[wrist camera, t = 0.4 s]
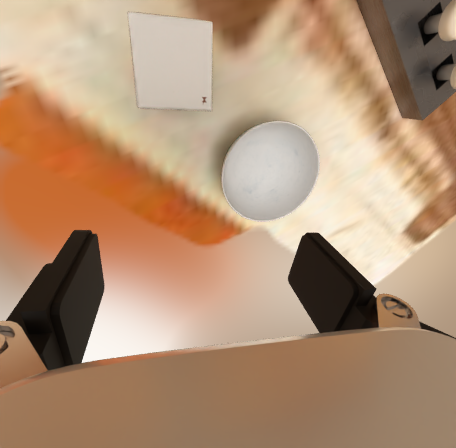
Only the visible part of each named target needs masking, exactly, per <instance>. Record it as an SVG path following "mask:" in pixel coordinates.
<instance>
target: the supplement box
mask: <svg viewBox="0 0 456 448" xmlns="http://www.w3.org/2000/svg"><path fill="white" fill-rule="evenodd" d="M127 14H128V21H129V31H130V41H131V50H132V61H133V71H134V81H135V91H136V101H137V107H138V108H141V109H167V110H193V111H212V31H213V23H212V22H211V21H205V20H198V19H191V18H183V17H174V16H166V15H157V14H148V13H139V12H128V13H127Z"/></svg>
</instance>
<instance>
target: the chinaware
mask: <svg viewBox="0 0 456 448" xmlns="http://www.w3.org/2000/svg"><path fill="white" fill-rule="evenodd" d="M319 166H320V160H319V153H318V149H317V146H316V144H315V142H314V140H313V138H312V137H311V136H310V134H309V133H308V132H307V131H305V130H304V129H303V128H301V127H300V126H298V125H296V124H294V123H291V122H286V121H270V122H265V123H261V124H258V125H256V126H254V127H252V128H250V129H248V130H247V131H245V132H244V133H242V134H241V135H240V136H239V137H238V138H237V139H236V140H235V141H234V143H233V144H232V145H231V147H230V148H229V150H228V152H227V154H226V156H225V159H224V162H223V166H222V174H221V182H222V189H223V193H224V196H225V198H226V200H227V202H228V204H229V205H230V206H231V208H232V209H233V210H234V211H235V212H236V213H238V214H239V215H241V216H242V217H244V218H246V219H249V220H253V221H259V222H266V221H273V220H277V219H280V218H282V217H285V216H287V215H288V214H290V213H292V212H293V211H295V210H296V209H297V208H298V207H300V206H301V205H302V204H303V203H304V201H305V200H306V199H307V198H308V196H309V195H310V193H311V192H312V190H313V188H314V186H315V184H316V181H317V178H318V174H319Z"/></svg>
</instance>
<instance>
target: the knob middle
mask: <svg viewBox="0 0 456 448" xmlns="http://www.w3.org/2000/svg"><path fill="white" fill-rule="evenodd" d="M424 32H425V34H432V33H437V32H438V33H439V36H440V38H441V39H442V40H443V41H452V40H456V0H452V1H451V2H450V3H449V4H448V5H447V7H446V8H445V10H444V11H443V13H441V14H437V15H433V16H431V17H429V18H428V19H427V21H426V22H425V25H424Z"/></svg>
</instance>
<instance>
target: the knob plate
mask: <svg viewBox="0 0 456 448" xmlns="http://www.w3.org/2000/svg"><path fill="white" fill-rule="evenodd" d="M451 1H452V0H357V2H358V5H359V7H360V10H361V13H362V15H363V18H364V20H365V23H366V25H367V28H368V31H369V33H370V36H371V38H372V41H373V43H374V46H375V49H376V51H377V54H378V56H379V59H380V61H381V64H382V67H383V69H384V72H385V74H386V77H387V79H388V82H389V85H390V87H391V90H392V92H393V95H394V97H395V100H396V103H397V105H398V108H399V110H400V113H401V115H402V118H409V119H416V120H423V119H425V118H426V117H427V116H428V115H429V114H430V113H432V112H433V111H434V110H435V109H436V108H437V107H439V106H440V105H441V104H442V103H443V102H444V101H446V100H447V99H448V98H449V97H450V96H451V95H452V94H454V93H455V92H456V89H454V88H453V87H452V86H451V83H450V80H438V79H437V77H436V75H437V72H438V70H439V68H440V67H441V66H443V65H449V64H456V40H452V41H443V40H442V39H441V38H440V36H439V33H438V32H437V33H432V34H425V32H424V25H425V22H426V21H427V19H428V18H429V17H431V16H433V15H437V14H441V13H443V11H444V10H445V8H446V7H447V5H448V4H449V3H450V2H451Z"/></svg>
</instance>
